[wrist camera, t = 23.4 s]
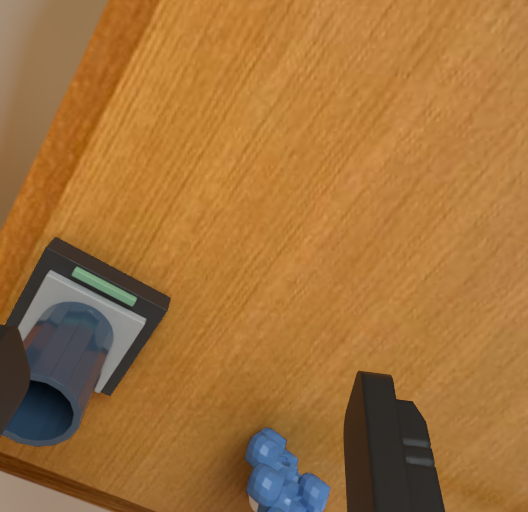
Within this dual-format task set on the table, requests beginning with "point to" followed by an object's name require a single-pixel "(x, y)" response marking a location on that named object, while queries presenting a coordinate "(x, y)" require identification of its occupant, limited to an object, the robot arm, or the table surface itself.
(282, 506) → the grapes
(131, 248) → the table surface
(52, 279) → the scale
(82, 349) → the cup
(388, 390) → the robot arm
